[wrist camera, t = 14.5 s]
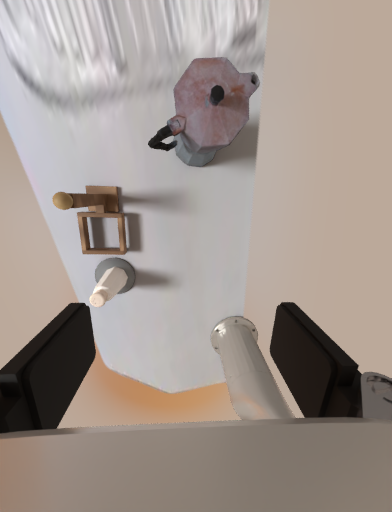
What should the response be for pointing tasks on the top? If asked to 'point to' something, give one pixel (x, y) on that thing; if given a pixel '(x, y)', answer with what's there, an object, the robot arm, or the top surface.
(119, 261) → the coaster
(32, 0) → the top surface
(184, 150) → the moka pot
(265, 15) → the top surface
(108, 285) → the pepper shaker
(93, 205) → the ring stand
